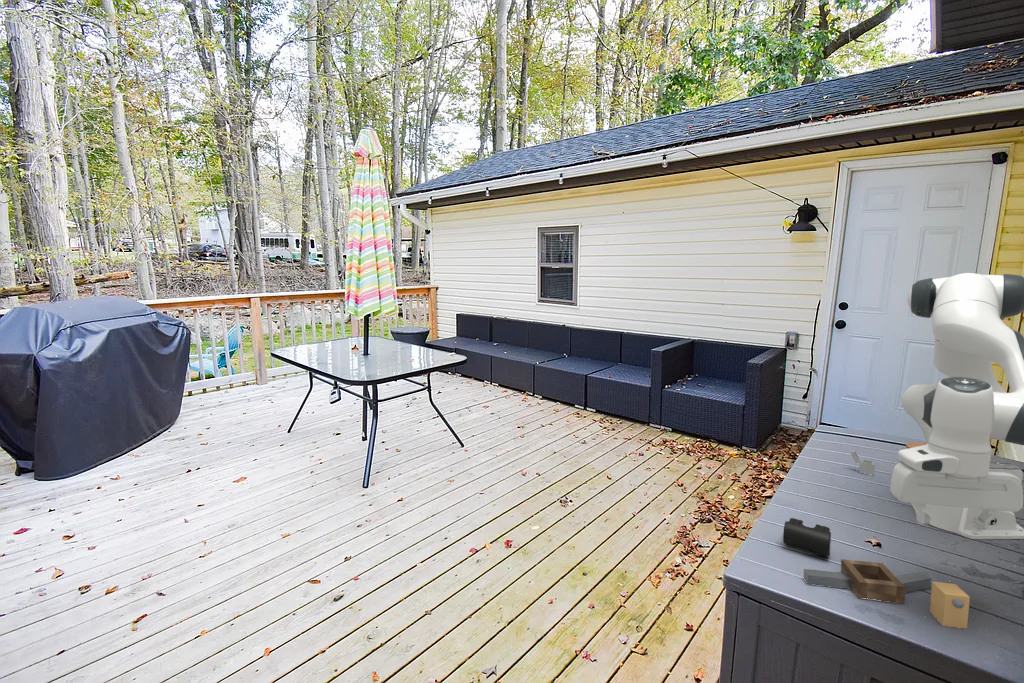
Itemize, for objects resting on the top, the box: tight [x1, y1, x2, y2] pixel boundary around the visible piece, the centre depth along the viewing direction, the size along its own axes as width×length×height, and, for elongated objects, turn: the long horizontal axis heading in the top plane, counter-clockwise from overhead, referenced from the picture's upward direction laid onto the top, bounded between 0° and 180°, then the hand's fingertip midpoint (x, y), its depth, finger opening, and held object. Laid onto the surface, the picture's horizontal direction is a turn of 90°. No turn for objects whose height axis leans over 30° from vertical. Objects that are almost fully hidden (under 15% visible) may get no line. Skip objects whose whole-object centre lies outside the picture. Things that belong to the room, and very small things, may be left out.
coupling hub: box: [840, 558, 906, 604], centre depth 102 cm, size 8×8×4 cm
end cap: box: [782, 517, 832, 558], centre depth 117 cm, size 10×7×7 cm
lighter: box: [849, 449, 875, 476], centre depth 161 cm, size 7×2×8 cm, turn 51°
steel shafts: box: [803, 568, 932, 594], centre depth 104 cm, size 26×6×2 cm, turn 76°
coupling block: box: [929, 581, 971, 629], centre depth 91 cm, size 4×5×7 cm
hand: (951, 525), depth 90 cm, fingers open, 8 cm apart
